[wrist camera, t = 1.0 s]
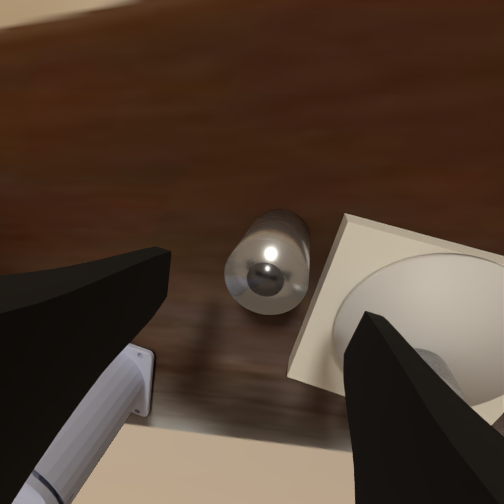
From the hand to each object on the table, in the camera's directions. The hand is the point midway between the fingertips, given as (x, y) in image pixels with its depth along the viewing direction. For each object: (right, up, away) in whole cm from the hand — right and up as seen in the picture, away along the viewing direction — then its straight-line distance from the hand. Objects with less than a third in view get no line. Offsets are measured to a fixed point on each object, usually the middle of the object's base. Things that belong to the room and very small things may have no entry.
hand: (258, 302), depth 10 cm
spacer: (+1, +3, +6) cm, 7 cm away
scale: (+9, -3, +7) cm, 12 cm away
